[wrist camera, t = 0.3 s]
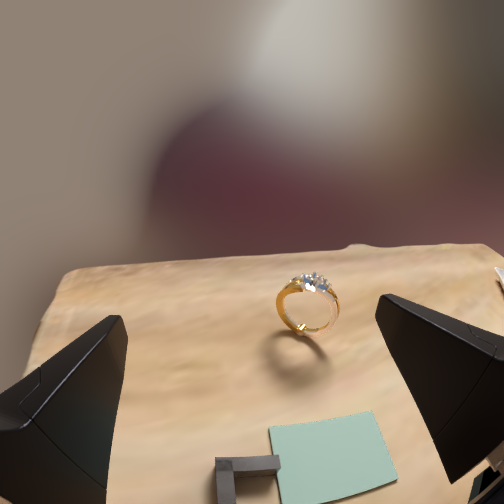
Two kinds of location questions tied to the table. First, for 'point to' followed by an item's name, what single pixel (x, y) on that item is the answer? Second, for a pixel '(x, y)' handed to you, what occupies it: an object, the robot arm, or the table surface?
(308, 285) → the ring
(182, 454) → the table surface
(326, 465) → the pad
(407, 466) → the table surface
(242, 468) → the hook
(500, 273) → the tray
